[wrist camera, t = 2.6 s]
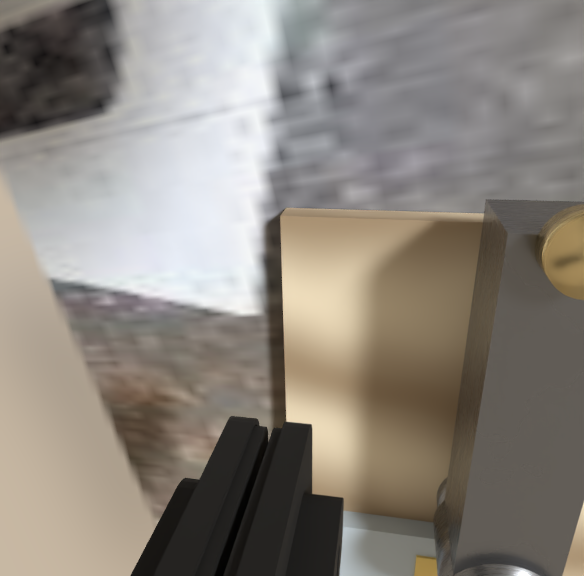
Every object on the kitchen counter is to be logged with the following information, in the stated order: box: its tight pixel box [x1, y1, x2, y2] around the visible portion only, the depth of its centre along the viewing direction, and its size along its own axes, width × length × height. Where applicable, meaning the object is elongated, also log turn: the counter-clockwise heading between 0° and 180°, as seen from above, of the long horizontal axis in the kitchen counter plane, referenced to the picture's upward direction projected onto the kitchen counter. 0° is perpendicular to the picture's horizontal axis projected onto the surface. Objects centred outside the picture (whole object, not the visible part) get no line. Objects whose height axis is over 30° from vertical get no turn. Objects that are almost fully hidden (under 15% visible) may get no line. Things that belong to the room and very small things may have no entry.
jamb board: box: [280, 208, 584, 576], centre depth 21 cm, size 25×12×1 cm, turn 1°
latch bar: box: [433, 199, 584, 576], centre depth 14 cm, size 14×4×4 cm, turn 1°
